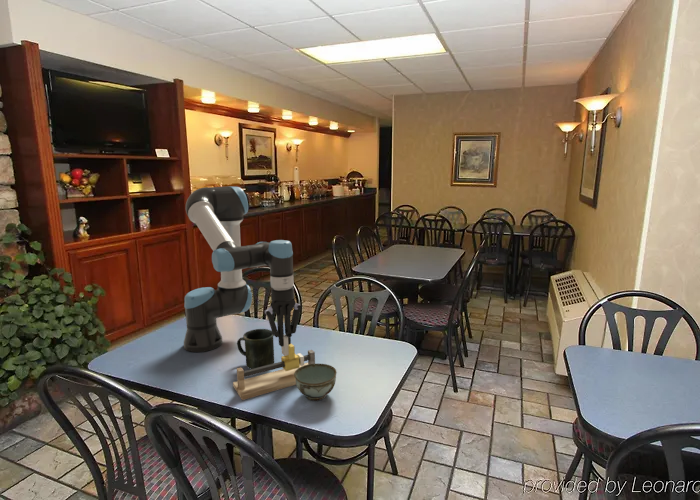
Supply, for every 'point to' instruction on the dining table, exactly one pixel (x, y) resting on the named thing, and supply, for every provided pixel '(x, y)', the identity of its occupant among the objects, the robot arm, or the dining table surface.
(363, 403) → the dining table surface
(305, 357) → the rod
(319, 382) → the bowl
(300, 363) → the band
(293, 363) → the sleeve
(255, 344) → the mug
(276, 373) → the wooden slider rail
